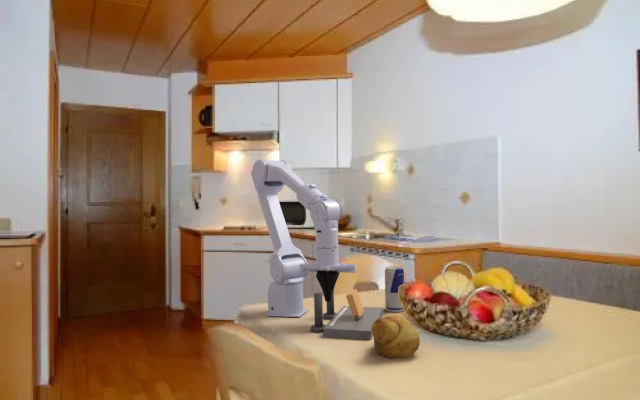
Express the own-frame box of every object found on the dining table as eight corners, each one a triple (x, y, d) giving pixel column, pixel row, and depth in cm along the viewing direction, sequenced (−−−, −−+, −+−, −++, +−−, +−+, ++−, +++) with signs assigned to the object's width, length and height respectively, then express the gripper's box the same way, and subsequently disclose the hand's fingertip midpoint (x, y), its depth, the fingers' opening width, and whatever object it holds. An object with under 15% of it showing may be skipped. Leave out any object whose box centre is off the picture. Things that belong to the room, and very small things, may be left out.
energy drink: (406, 312, 132) (405, 269, 131) (386, 312, 132) (385, 269, 132) (403, 307, 137) (402, 266, 137) (384, 308, 137) (383, 266, 137)
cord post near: (308, 332, 115) (307, 295, 115) (313, 327, 119) (312, 291, 119) (324, 333, 114) (323, 295, 114) (328, 328, 118) (328, 292, 118)
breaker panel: (323, 337, 111) (323, 327, 111) (343, 313, 132) (343, 305, 132) (370, 339, 108) (370, 330, 108) (383, 315, 129) (383, 307, 129)
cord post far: (321, 319, 126) (320, 285, 126) (325, 315, 130) (324, 282, 130) (336, 320, 125) (335, 285, 125) (339, 316, 129) (338, 283, 129)
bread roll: (374, 340, 108) (373, 305, 108) (418, 341, 106) (417, 305, 106) (371, 360, 95) (370, 320, 95) (421, 362, 94) (420, 321, 94)
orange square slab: (354, 320, 117) (345, 295, 117) (358, 314, 123) (350, 290, 123) (360, 319, 117) (351, 293, 117) (364, 312, 122) (356, 289, 123)
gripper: (295, 249, 120) (296, 303, 120) (352, 249, 116) (353, 305, 116) (303, 245, 126) (304, 297, 127) (357, 246, 123) (358, 298, 123)
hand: (328, 300), depth 122 cm, fingers closed
